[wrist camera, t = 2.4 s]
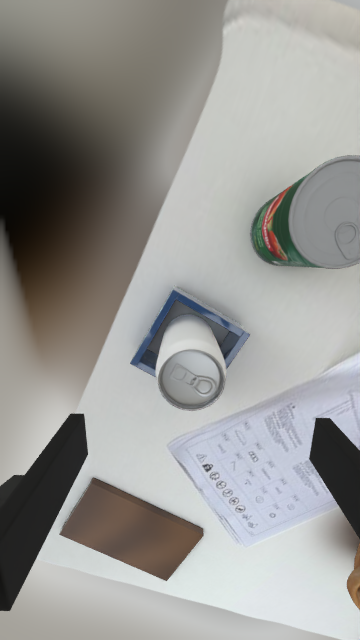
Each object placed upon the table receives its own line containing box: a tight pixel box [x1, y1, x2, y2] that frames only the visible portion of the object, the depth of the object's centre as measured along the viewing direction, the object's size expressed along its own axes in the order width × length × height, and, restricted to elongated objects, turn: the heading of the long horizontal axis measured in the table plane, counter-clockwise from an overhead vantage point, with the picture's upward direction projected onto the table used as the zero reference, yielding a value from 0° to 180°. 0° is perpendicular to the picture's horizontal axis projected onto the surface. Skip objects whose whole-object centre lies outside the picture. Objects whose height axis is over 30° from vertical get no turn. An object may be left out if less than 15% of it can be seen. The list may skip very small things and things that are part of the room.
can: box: [156, 314, 226, 411], centre depth 26 cm, size 6×6×12 cm
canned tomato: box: [250, 155, 360, 269], centre depth 23 cm, size 8×8×11 cm
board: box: [59, 478, 204, 581], centre depth 39 cm, size 20×12×1 cm, turn 60°
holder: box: [130, 285, 250, 377], centre depth 30 cm, size 10×10×4 cm
